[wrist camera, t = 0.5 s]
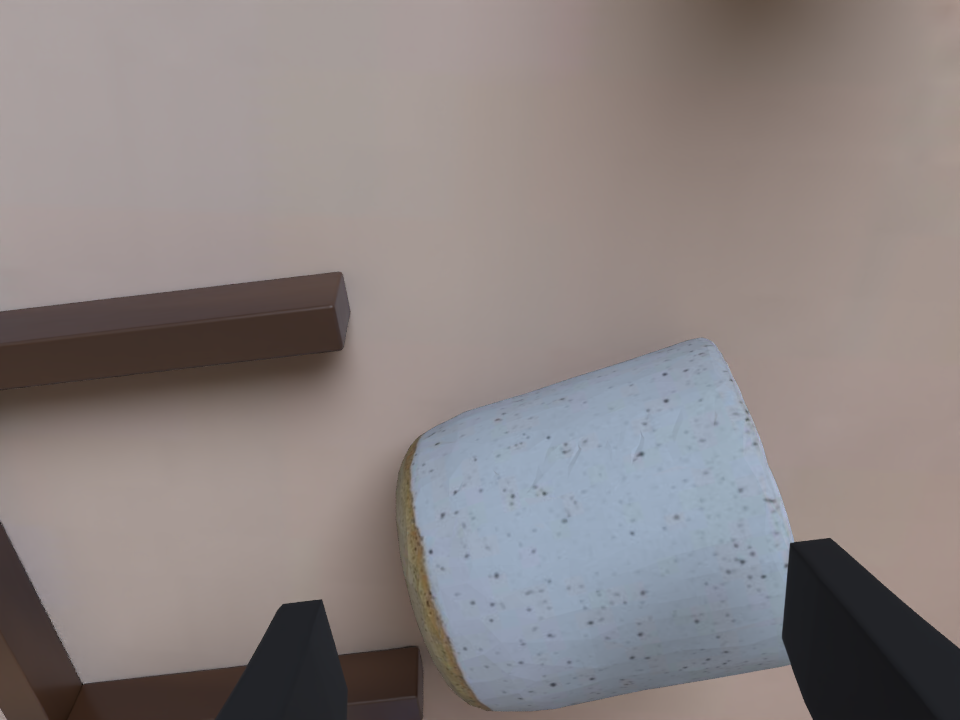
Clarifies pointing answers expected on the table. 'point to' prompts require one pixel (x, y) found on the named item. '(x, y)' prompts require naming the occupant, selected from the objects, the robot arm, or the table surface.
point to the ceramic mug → (597, 537)
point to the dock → (153, 348)
